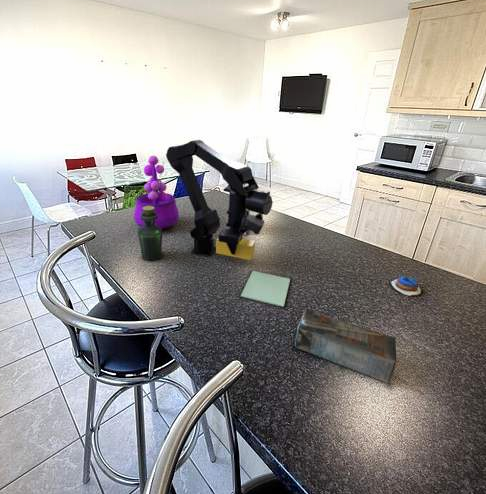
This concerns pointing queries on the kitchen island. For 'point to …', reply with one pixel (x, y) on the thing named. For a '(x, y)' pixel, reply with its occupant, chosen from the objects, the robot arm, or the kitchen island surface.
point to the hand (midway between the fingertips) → (235, 250)
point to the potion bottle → (150, 235)
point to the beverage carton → (347, 345)
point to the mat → (266, 288)
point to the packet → (237, 249)
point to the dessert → (406, 285)
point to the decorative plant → (156, 198)
